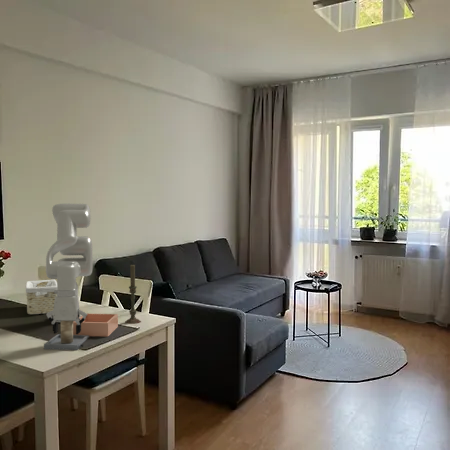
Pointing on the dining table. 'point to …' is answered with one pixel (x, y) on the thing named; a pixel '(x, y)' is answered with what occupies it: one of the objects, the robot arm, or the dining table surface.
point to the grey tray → (56, 344)
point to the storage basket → (40, 296)
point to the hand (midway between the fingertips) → (67, 333)
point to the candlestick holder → (132, 297)
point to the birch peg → (66, 332)
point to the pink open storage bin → (97, 324)
